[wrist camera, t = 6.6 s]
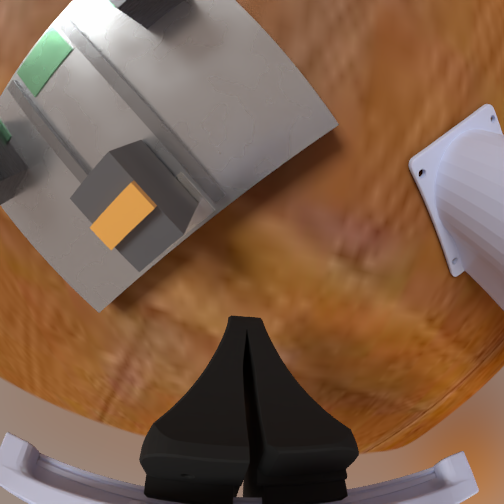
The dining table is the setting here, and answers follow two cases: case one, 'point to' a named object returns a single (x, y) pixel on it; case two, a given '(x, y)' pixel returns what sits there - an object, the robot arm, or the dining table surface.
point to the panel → (145, 119)
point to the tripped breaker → (135, 204)
